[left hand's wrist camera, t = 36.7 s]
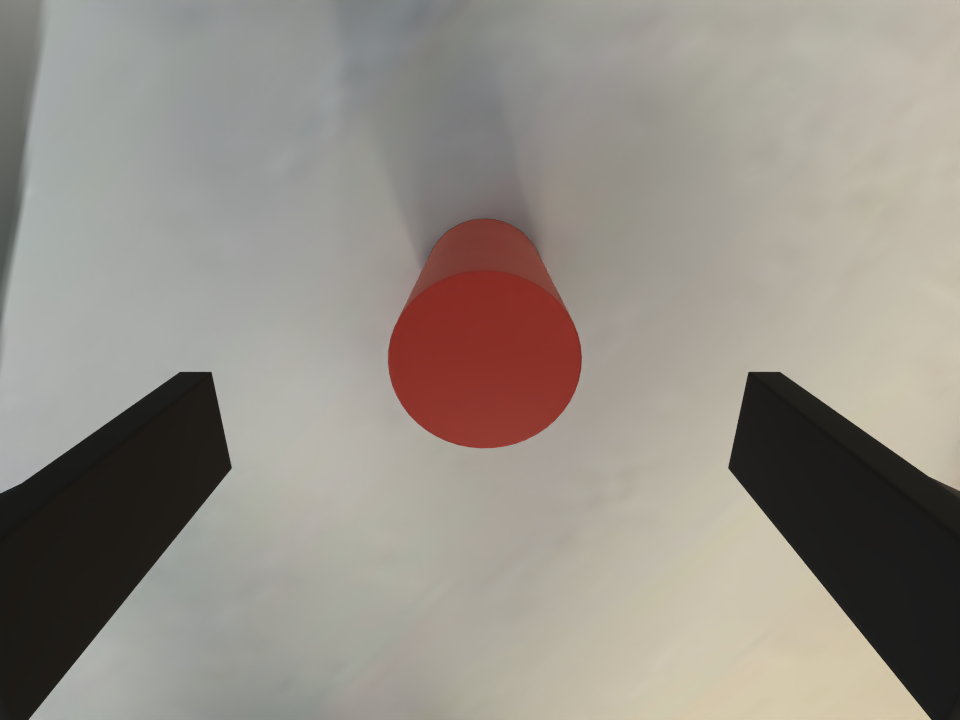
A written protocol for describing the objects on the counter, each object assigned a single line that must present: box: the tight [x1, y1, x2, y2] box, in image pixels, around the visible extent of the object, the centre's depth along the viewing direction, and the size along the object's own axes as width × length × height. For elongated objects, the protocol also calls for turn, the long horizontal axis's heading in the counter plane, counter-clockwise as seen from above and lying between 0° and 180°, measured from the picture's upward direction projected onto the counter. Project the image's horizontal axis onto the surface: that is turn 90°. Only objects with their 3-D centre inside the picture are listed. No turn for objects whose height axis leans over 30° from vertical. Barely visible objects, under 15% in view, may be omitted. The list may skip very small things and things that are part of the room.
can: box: [388, 219, 582, 448], centre depth 19 cm, size 6×6×10 cm
